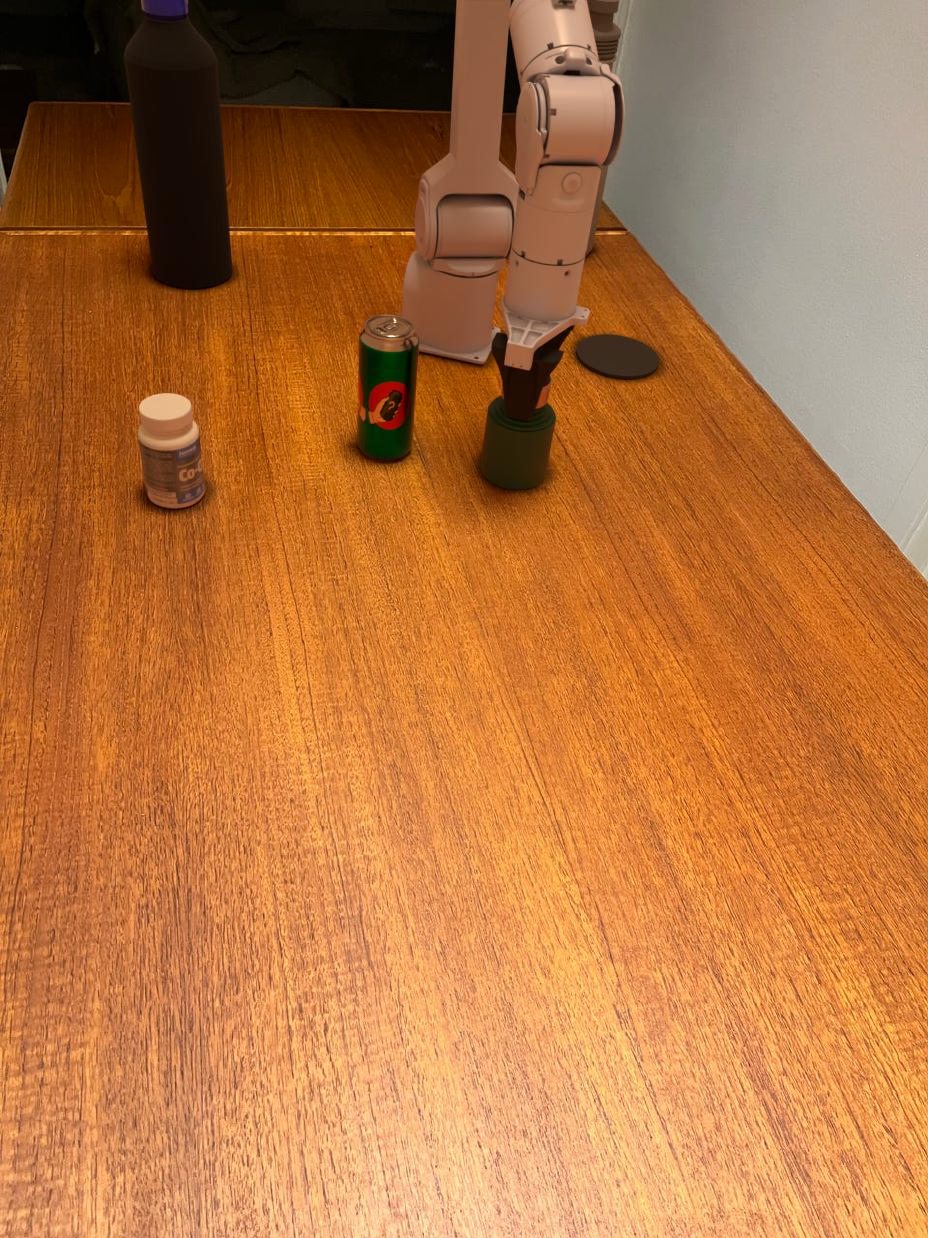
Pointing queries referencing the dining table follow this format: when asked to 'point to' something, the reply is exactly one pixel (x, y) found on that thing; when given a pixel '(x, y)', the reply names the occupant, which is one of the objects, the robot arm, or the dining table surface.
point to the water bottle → (606, 38)
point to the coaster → (617, 356)
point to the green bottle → (516, 447)
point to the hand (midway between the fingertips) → (524, 404)
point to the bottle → (179, 147)
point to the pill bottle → (170, 451)
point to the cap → (544, 393)
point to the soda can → (387, 386)
